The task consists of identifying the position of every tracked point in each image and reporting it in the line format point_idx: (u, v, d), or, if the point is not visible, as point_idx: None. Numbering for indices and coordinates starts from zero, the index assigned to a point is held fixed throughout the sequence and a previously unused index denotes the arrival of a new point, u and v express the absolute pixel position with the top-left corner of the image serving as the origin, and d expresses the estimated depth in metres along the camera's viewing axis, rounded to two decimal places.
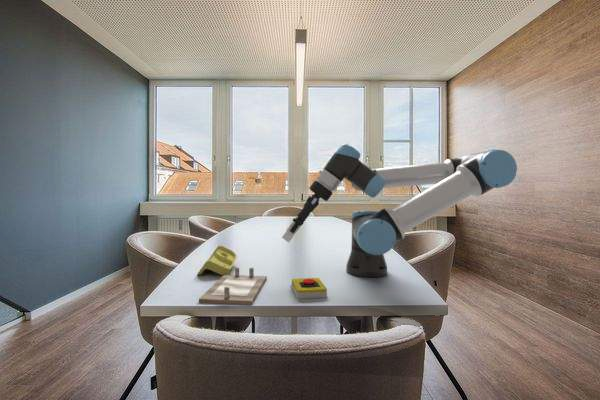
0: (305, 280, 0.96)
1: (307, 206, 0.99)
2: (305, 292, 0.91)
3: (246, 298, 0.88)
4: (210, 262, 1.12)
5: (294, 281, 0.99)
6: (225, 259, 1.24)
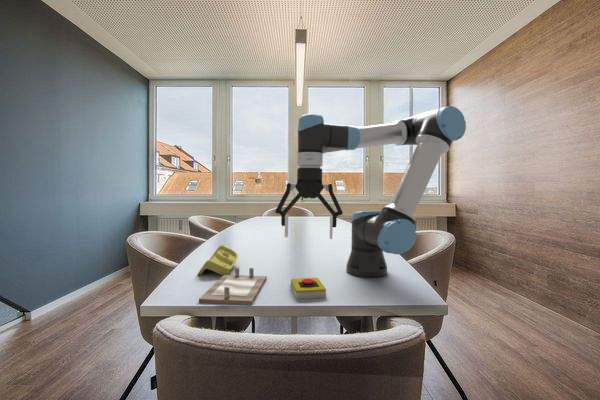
0: (304, 280, 0.96)
1: (334, 195, 0.95)
2: (304, 292, 0.91)
3: (246, 298, 0.88)
4: (210, 262, 1.12)
5: (293, 281, 0.99)
6: (226, 259, 1.24)
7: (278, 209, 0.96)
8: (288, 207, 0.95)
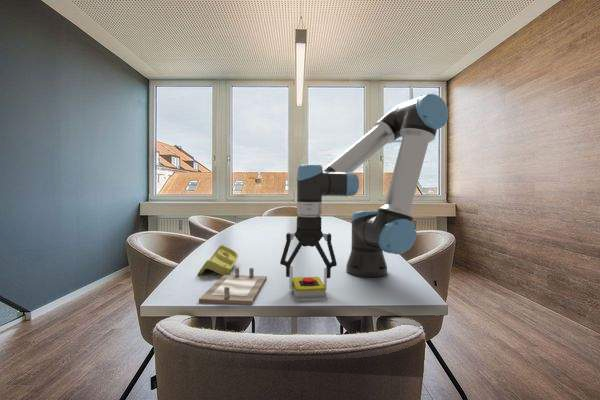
0: (304, 279, 0.97)
1: None
2: (304, 290, 0.91)
3: (246, 298, 0.88)
4: (210, 262, 1.12)
5: (294, 280, 0.99)
6: (226, 259, 1.24)
7: (282, 260, 0.96)
8: (291, 258, 0.96)
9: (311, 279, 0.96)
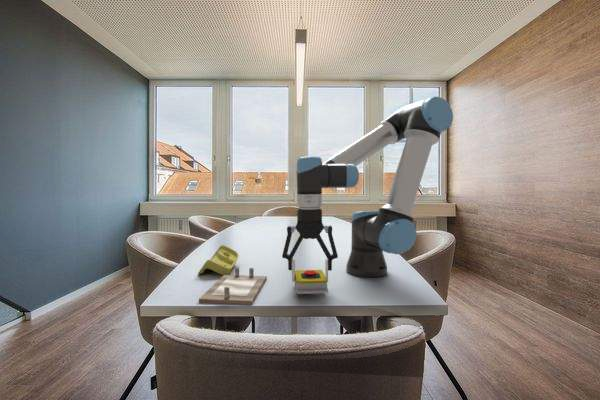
0: (306, 271, 0.97)
1: None
2: (305, 283, 0.92)
3: (246, 298, 0.88)
4: (210, 262, 1.12)
5: (296, 272, 1.00)
6: (227, 259, 1.24)
7: (284, 254, 0.96)
8: (293, 251, 0.96)
9: (313, 272, 0.96)
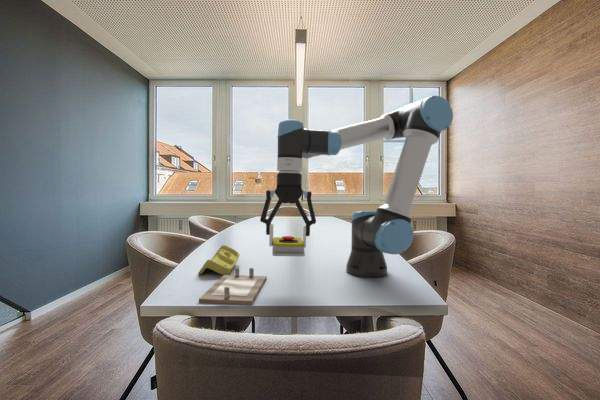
0: (284, 236, 0.96)
1: (311, 204, 0.95)
2: (281, 246, 0.91)
3: (246, 298, 0.88)
4: (210, 261, 1.13)
5: (275, 238, 0.99)
6: (227, 259, 1.24)
7: (262, 218, 0.96)
8: (271, 215, 0.95)
9: (291, 237, 0.96)
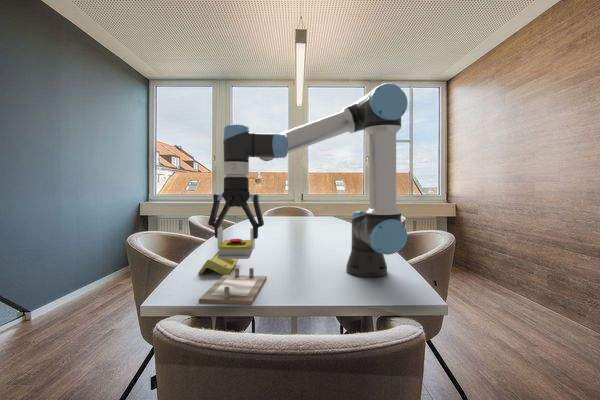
0: (232, 239, 0.98)
1: (258, 207, 0.96)
2: (226, 248, 0.92)
3: (246, 298, 0.88)
4: (210, 261, 1.13)
5: (225, 241, 1.01)
6: (228, 259, 1.24)
7: (210, 221, 0.97)
8: (219, 218, 0.97)
9: (238, 239, 0.97)
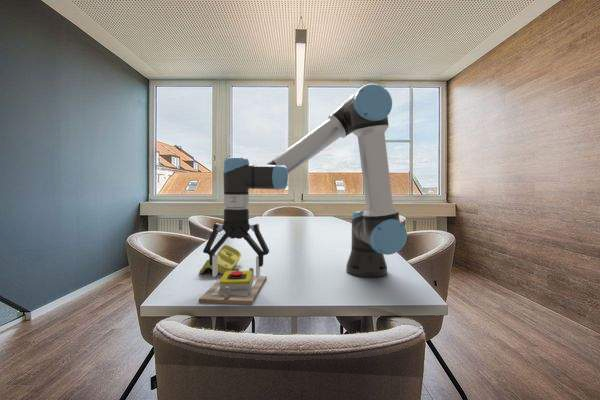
0: (233, 272, 0.98)
1: (260, 235, 0.97)
2: (227, 283, 0.93)
3: (246, 298, 0.88)
4: None
5: (225, 273, 1.01)
6: (229, 258, 1.25)
7: (206, 249, 0.98)
8: (215, 247, 0.97)
9: (239, 272, 0.98)
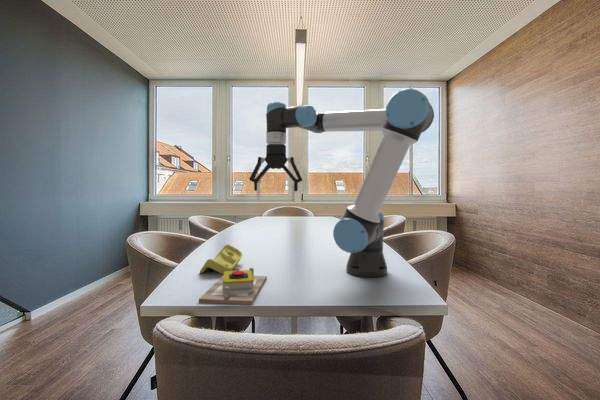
0: (234, 272, 0.98)
1: (295, 166, 1.21)
2: (231, 283, 0.93)
3: (246, 298, 0.88)
4: (211, 261, 1.14)
5: (225, 273, 1.01)
6: (230, 258, 1.25)
7: (251, 177, 1.22)
8: (259, 176, 1.21)
9: (241, 272, 0.98)
